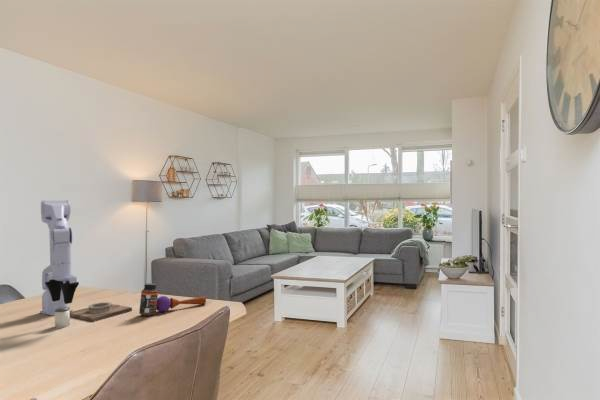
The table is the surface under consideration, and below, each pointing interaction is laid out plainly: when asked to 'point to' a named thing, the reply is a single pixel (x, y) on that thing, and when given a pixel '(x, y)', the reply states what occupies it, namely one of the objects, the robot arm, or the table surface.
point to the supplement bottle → (148, 299)
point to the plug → (62, 317)
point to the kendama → (176, 302)
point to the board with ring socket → (100, 311)
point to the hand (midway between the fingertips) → (62, 302)
